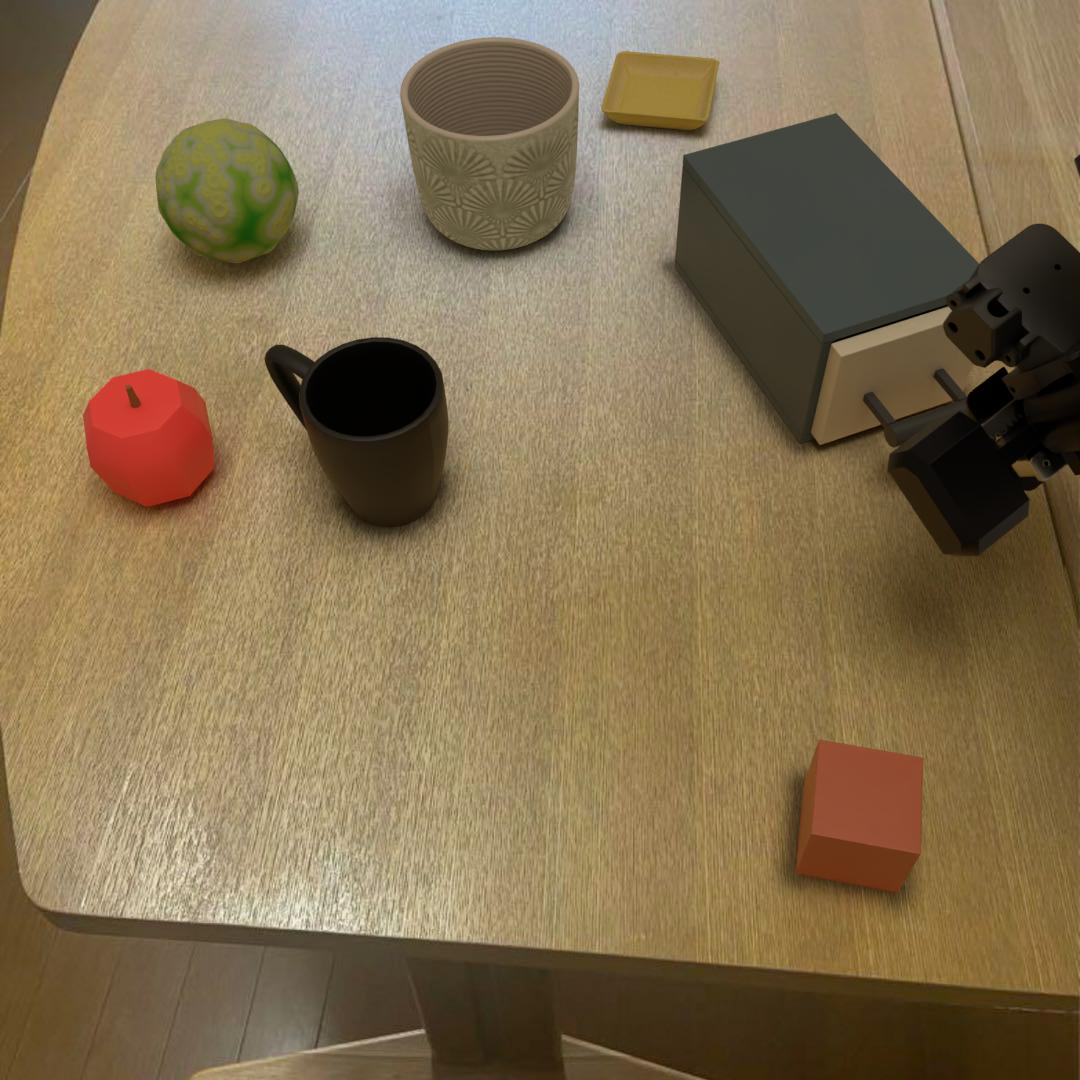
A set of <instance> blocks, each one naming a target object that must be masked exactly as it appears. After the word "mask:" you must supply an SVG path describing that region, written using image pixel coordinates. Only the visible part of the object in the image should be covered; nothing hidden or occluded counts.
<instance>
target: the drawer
mask: <svg viewBox="0 0 1080 1080" xmlns="http://www.w3.org/2000/svg"><path fill="white" fill-rule="evenodd" d="M951 312H952V310H951V309H950V308H949V307H948V305H944V306H941V307H938V308H934V309H931V310H928V311H925V312H922V313H919V314H916V315H912V316H909V317H906V318H903V319H900V320H897V321H893V322H890V323H887V324H884V325H881V326H878V327H875V328H871V329H868V330H865V331H862V332H859V333H856V334H853V335H849V336H846V337H843V338H840V339H837V340H834V341H833V343H832V344H831V347H830V351H829V356H828V360H827V364H826V369H825V373H824V377H823V382H822V386H821V390H820V395H819V399H818V403H817V408H816V412H815V416H814V421H813V425H812V430H811V434H812V435H813V436H814V438H815V439H814V440H815V441H816V442H817V443H818V445H820V446H821V445H824V444H828V443H830V442H833V441H836V440H837V441H838V440H840V439H842V438H845V437H848V436H851V435H854V434H857V433H860V432H863V431H866V430H869V429H872V428H875V427H879V426H882V427H883V428H884V430H883V435H884V439H885V441H886V443H887V444H888V446H889V447H891V448H898V447H899V446H900V445H902V444H903V443H904V442H906V441H907V440H908V439H910V438H911V437H912V436H914V435H915V434H916V433H917V432H919V431H920V430H921V429H923V428H924V427H925V426H927V425H928V424H930V423H932V422H933V421H935V420H937V419H939V418H941V417H943V416H944V415H946V414H949V413H953V412H957V411H961V412H962V413H964V414H965V415H967V411H966V398H967V396H968V395H967V394H966V393H965V392H964V391H965V388H966V386H967V383H968V380H969V377H970V375H971V372H972V369H973V366H974V364H973V363H972V362H971V361H970V360H969V359H968V358H967V357H966V356H965V355H964V354H963V353H962V352H961V351H960V350H959V349H958V348H957V347H956V346H955V345H954V344H953V343H952V342H951V341H950V340H949V339H948V338H947V336H946V335H945V332H944V329H943V323H944V321H945V320H946V318H947V317H948V315H949V314H950V313H951ZM952 401H953V402H952ZM949 402H952V403H949ZM946 403H949V404H946ZM944 404H946V405H944ZM940 405H943V406H940ZM937 406H940V407H937ZM935 407H936V408H935ZM931 408H935V409H931ZM928 409H931V410H928ZM926 410H928V411H926ZM923 411H925V412H923ZM920 412H922V413H920ZM917 413H919V414H917ZM913 414H916V415H913ZM911 415H913V416H911ZM908 416H910V417H908ZM905 417H907V418H905ZM903 418H904V419H903ZM899 419H901V420H899Z"/></svg>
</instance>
